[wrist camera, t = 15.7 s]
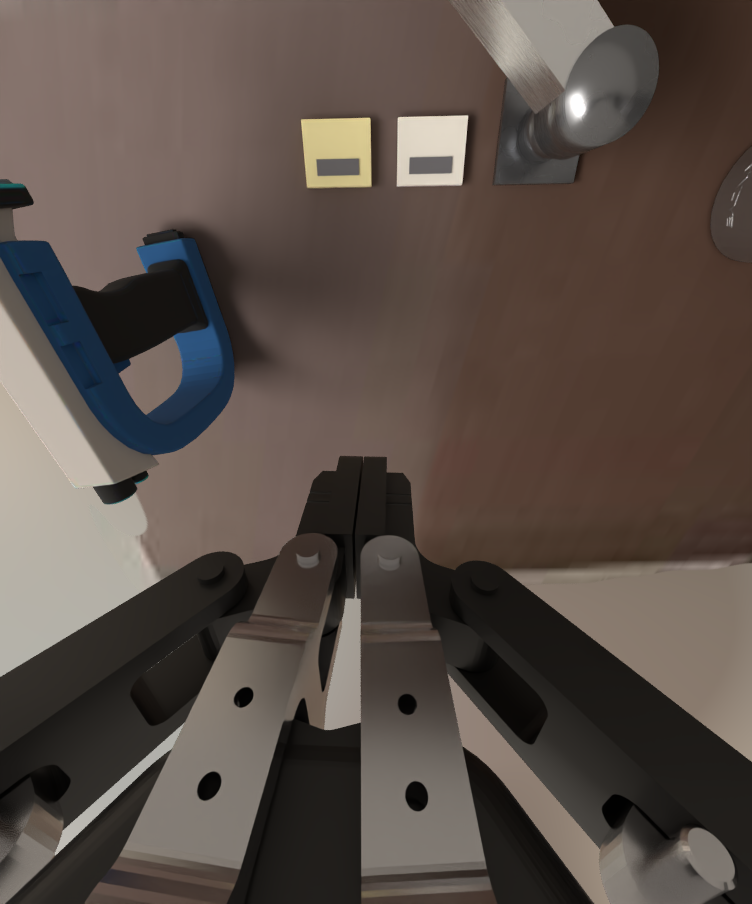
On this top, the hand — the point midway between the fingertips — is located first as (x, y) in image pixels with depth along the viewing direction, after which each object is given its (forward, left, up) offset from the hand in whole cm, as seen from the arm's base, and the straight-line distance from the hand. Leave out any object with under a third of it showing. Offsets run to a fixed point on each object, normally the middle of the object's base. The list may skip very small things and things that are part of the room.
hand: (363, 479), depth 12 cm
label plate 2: (-4, -12, -26) cm, 29 cm away
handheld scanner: (+17, -1, -26) cm, 31 cm away
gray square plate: (-12, -13, -26) cm, 31 cm away
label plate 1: (+3, -12, -26) cm, 29 cm away
